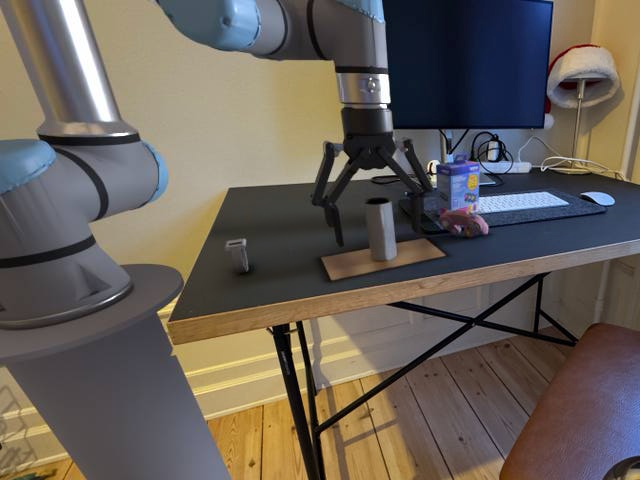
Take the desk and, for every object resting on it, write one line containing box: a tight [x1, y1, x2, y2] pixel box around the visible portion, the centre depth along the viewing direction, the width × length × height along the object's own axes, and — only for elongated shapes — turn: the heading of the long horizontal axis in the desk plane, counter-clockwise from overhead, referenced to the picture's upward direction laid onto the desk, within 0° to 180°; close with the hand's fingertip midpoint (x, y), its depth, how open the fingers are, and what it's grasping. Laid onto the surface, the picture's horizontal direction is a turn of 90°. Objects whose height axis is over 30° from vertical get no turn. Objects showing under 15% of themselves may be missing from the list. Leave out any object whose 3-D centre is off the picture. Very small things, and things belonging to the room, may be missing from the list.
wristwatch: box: [224, 238, 249, 274], centre depth 60 cm, size 6×3×5 cm, turn 28°
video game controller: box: [438, 210, 489, 238], centre depth 76 cm, size 10×5×7 cm
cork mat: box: [320, 237, 447, 282], centre depth 67 cm, size 20×10×1 cm, turn 120°
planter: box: [363, 196, 397, 261], centre depth 64 cm, size 4×4×10 cm
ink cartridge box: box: [435, 152, 481, 217], centre depth 88 cm, size 10×6×14 cm, turn 137°
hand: (380, 237), depth 65 cm, fingers open, 13 cm apart
